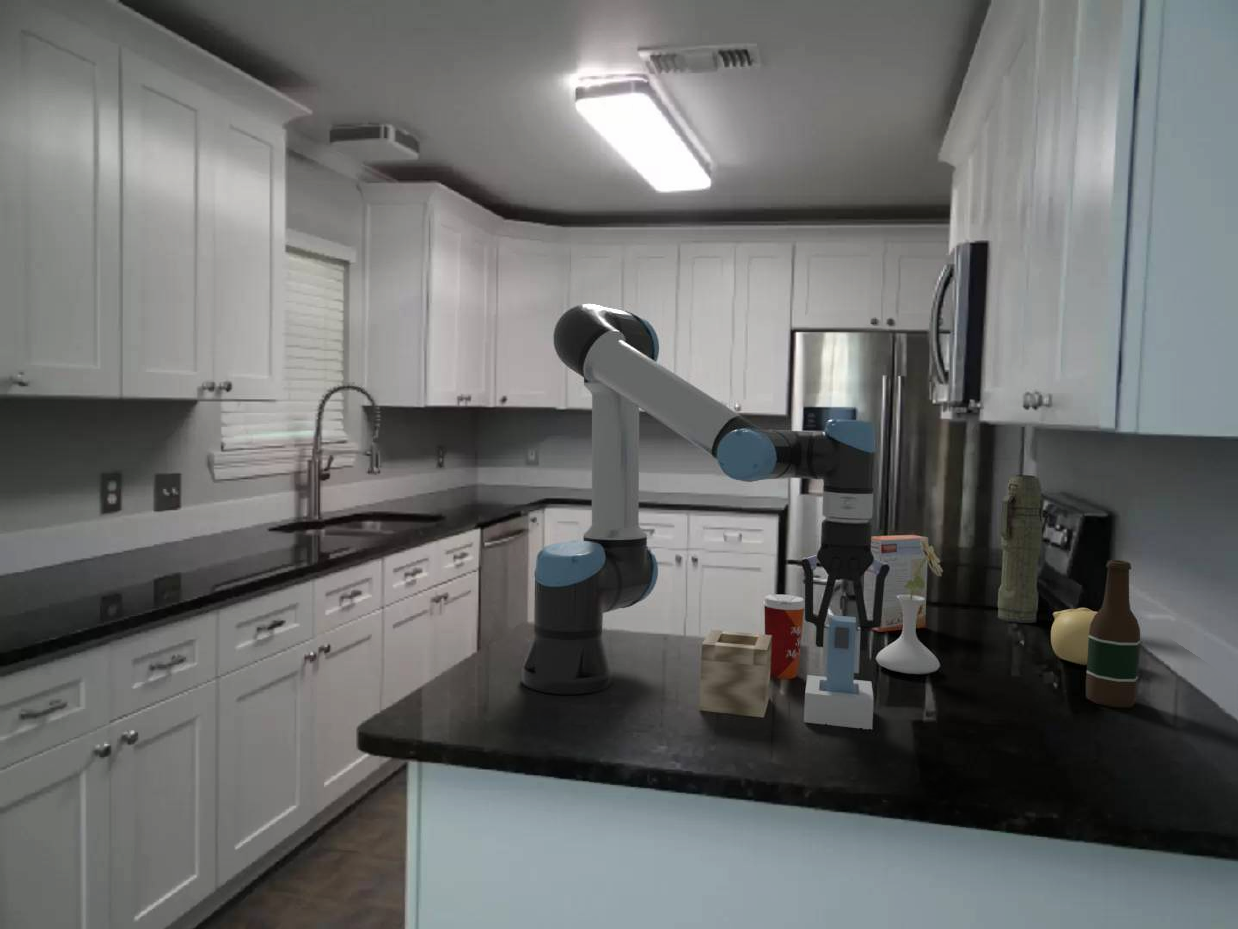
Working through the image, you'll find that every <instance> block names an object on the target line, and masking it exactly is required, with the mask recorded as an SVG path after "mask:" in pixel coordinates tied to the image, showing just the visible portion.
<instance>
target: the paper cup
mask: <svg viewBox="0 0 1238 929" xmlns="http://www.w3.org/2000/svg"><path fill="white" fill-rule="evenodd" d="M762 605H763V606H764V609H763V610H764V635H772V643H771V666H770V678H774V679H779V680H780V679H781V680H791V679H795V678H797V677H798V670H799V660H800V653H801V652H800V651H801V641H802V634H803V632H802V631H803V624H804V622H803V621H804V616H805V598H803V597H800V596H797V595H791V594H779V593H778V594H769V595H768V594H767V595H766V596H765V598H764V601H762Z"/></svg>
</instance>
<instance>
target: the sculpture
mask: <svg viewBox="0 0 1238 929" xmlns="http://www.w3.org/2000/svg"><path fill="white" fill-rule="evenodd" d="M1097 612H1098V611H1093V610H1091V609H1089V608H1087V607H1078V608H1069V609H1064V610H1060V611H1059V610H1058V611H1054V612H1053V613H1052V616H1053V618H1054V621H1053V623H1052V626H1051V630H1050V643H1051V646H1052V650H1053V652H1054V654H1055V656H1057V657H1058V658H1060V659H1061V660H1064V661H1067V662H1069V663H1073V664H1077V665H1083V666H1087V658H1088V641H1089V631H1090V624H1091V622H1092V620H1093V618H1094V616H1095V615H1096V614H1097Z"/></svg>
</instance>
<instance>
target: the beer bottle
mask: <svg viewBox="0 0 1238 929" xmlns="http://www.w3.org/2000/svg"><path fill="white" fill-rule="evenodd" d="M1105 567H1106V568H1107V572H1106V574H1107V575H1106V580H1105V582H1106V583H1105V588H1104V595H1103V596H1104V598H1103V601H1102V605H1101V608H1100V609H1099V610H1098V611H1096V612H1097V614H1096V615H1095V616H1094V618H1093V620H1092V622H1091V624H1090V631H1089V641H1088V658H1087V665H1086V676H1085V697H1086V699H1087V700H1089V701H1091V702H1093V703H1095V704H1097V705H1100V706H1101V705H1102V706H1106V707H1111V708H1115V709H1116V708H1117V709H1118V708H1119V709H1125V708H1126V709H1127V708H1132V707H1133V706H1134V705H1135V703H1136V702H1137V694H1138V684H1139V670H1140V669H1139V666H1140V665H1139V664H1140V651H1141V650H1140V649H1141V628H1140V624H1139V621H1138V619H1137V617H1136V616H1135V614H1134V613H1133V611H1132V610H1131V604H1130V570H1131V569H1132V564H1131V563H1130V562H1129V561H1126V560H1119V559H1111V560H1107V562H1106V566H1105Z"/></svg>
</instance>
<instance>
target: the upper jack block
mask: <svg viewBox="0 0 1238 929" xmlns="http://www.w3.org/2000/svg"><path fill="white" fill-rule="evenodd" d="M771 643H772V635H765V634H761V633H753V632H752V633H751V632H738V631H730V630H729V631H728V630H719V629H718V630H717V629H710V631H709V632H708V634H707V636H706V637H705V638H704V640H703V642H702V644H701V662H700V664H701V665H700V687H699V688H700V689H699V690H700V691H699V711H702V712H703V711H704V712H711V713H712V712H713V713H720V714H731V715H737V716H738V715H739V716H746V717H747V716H749V717H756V718H763V719H764V718H765V715H766V712H767V707H768V704H769V701H770V685H771V684H770V683H771V681H770V680H771V677H770V666H771Z"/></svg>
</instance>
